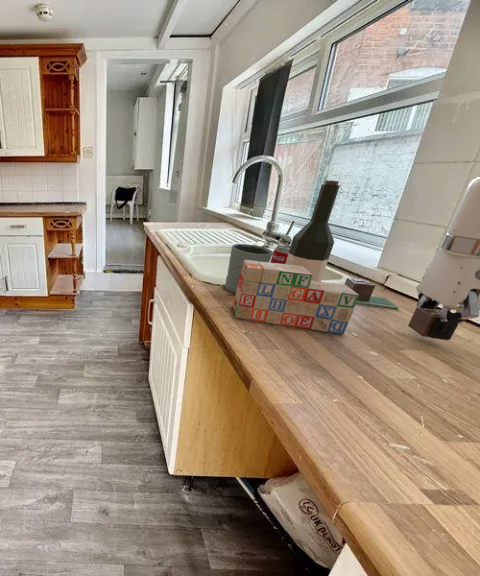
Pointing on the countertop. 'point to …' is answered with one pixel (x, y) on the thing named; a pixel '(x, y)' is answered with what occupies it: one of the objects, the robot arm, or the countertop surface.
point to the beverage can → (280, 254)
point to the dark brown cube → (360, 288)
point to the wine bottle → (315, 235)
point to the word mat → (378, 302)
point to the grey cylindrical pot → (237, 259)
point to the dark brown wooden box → (424, 320)
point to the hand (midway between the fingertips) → (428, 331)
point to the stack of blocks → (292, 298)
